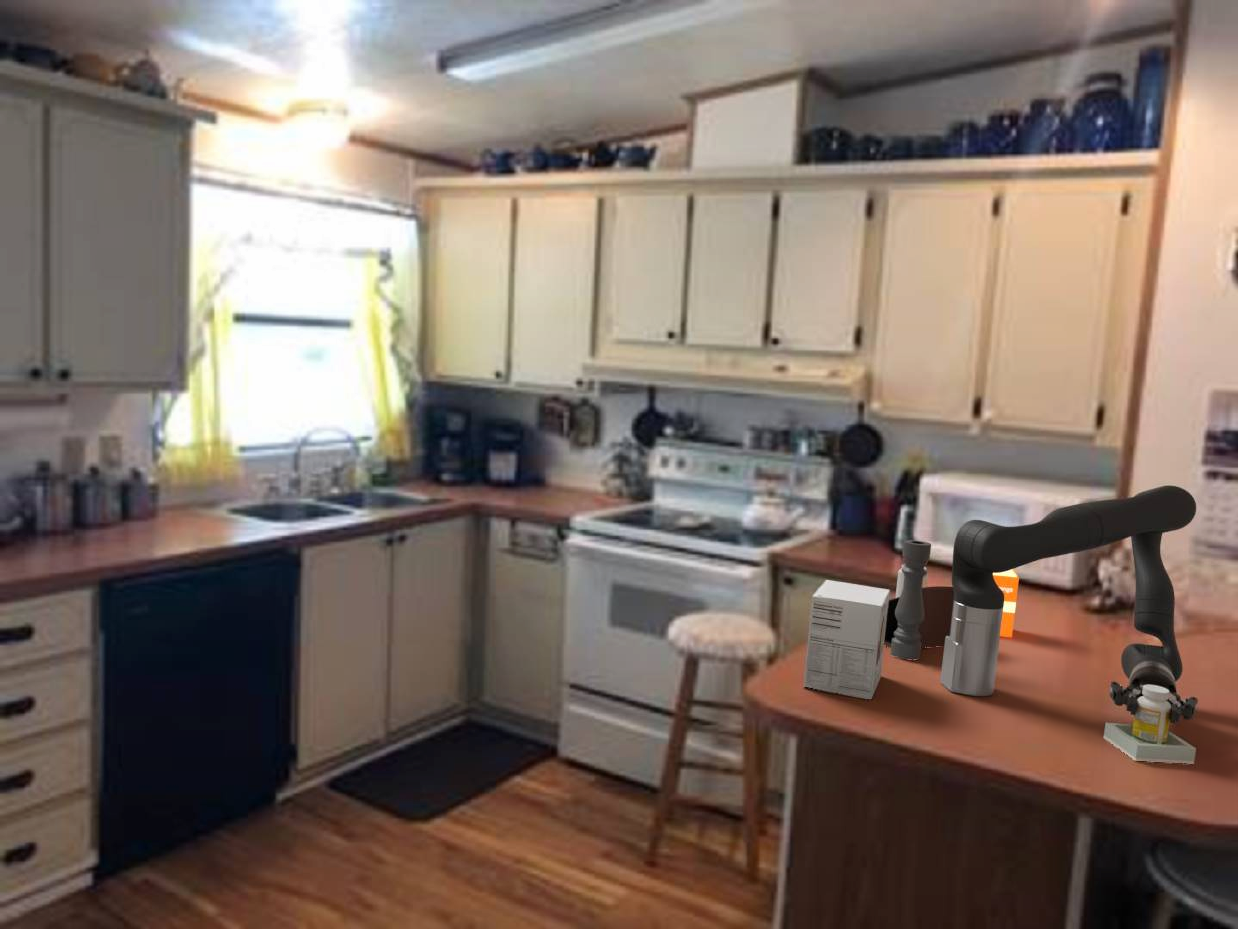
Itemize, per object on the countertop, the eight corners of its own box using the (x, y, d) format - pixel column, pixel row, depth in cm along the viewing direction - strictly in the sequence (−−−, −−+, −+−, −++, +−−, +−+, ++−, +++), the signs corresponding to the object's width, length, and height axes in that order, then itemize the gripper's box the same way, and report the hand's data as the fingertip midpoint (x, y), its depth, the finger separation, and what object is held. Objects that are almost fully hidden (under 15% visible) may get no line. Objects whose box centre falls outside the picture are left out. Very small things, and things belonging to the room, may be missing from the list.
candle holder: (924, 657, 218) (937, 544, 215) (911, 662, 213) (924, 546, 210) (898, 650, 222) (910, 538, 219) (885, 655, 217) (897, 541, 214)
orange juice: (1002, 627, 249) (1011, 548, 247) (1012, 637, 240) (1022, 555, 238) (969, 624, 250) (979, 545, 247) (978, 634, 241) (988, 552, 239)
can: (927, 612, 259) (933, 566, 258) (919, 617, 253) (924, 570, 251) (899, 606, 263) (904, 561, 262) (890, 611, 257) (895, 565, 255)
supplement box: (873, 701, 186) (883, 606, 184) (801, 688, 191) (810, 595, 189) (882, 676, 202) (892, 588, 200) (816, 664, 207) (825, 578, 205)
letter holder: (961, 645, 230) (968, 585, 228) (896, 652, 221) (903, 589, 219) (929, 633, 239) (935, 575, 237) (865, 639, 229) (871, 579, 228)
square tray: (1135, 761, 166) (1137, 745, 166) (1103, 738, 176) (1105, 722, 176) (1193, 764, 167) (1196, 748, 166) (1158, 741, 176) (1160, 725, 176)
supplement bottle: (1143, 748, 168) (1150, 693, 167) (1124, 736, 174) (1131, 682, 172) (1173, 749, 169) (1181, 694, 168) (1153, 737, 174) (1160, 683, 173)
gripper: (1111, 658, 186) (1109, 682, 171) (1200, 674, 179) (1206, 701, 164) (1106, 697, 187) (1103, 725, 172) (1194, 714, 180) (1199, 745, 165)
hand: (1153, 713), depth 168 cm, fingers closed on supplement bottle, 5 cm apart
